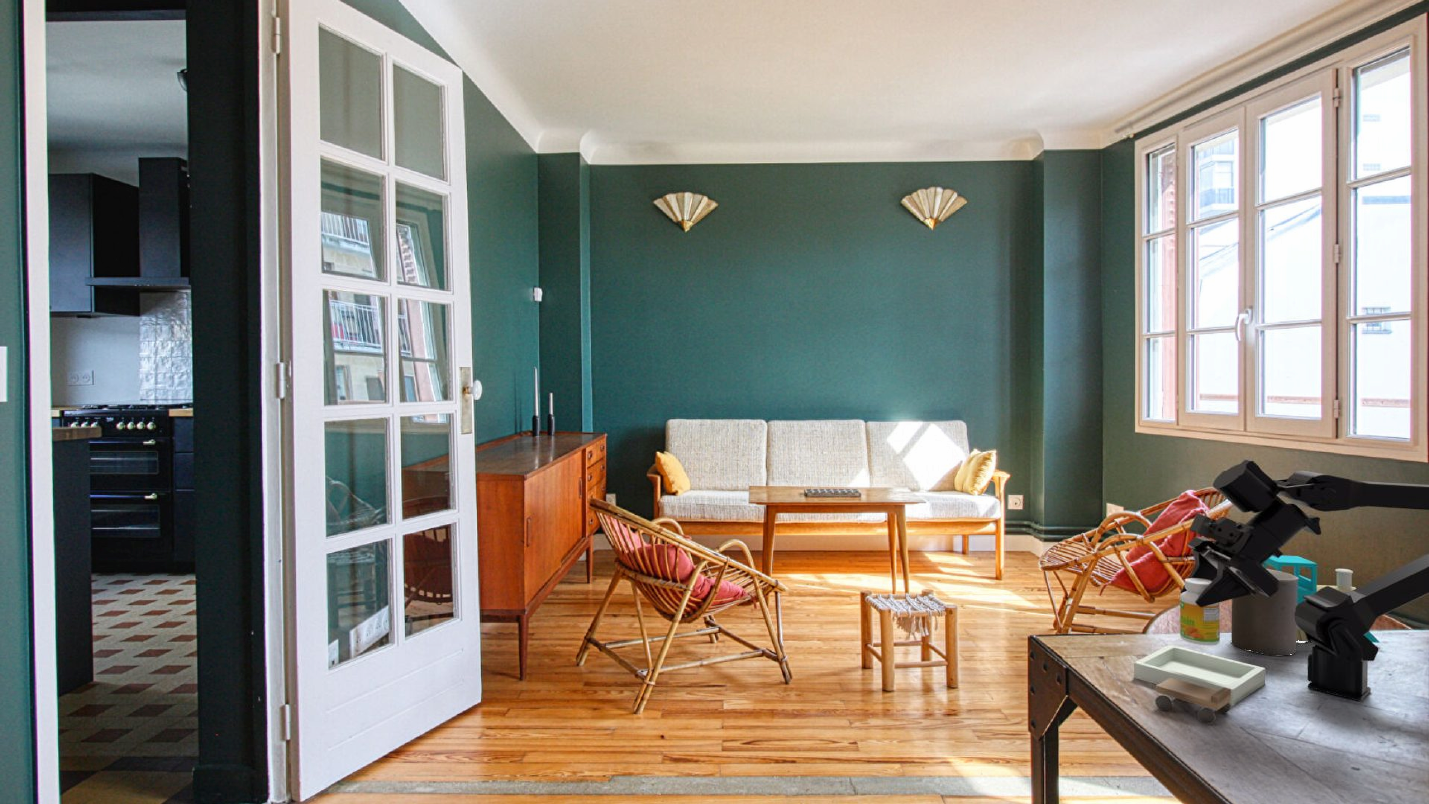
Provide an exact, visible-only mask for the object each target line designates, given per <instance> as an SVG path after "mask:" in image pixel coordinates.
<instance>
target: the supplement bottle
mask: <svg viewBox="0 0 1429 804" xmlns="http://www.w3.org/2000/svg"><path fill="white" fill-rule="evenodd" d="M1211 582H1212V581H1210V580H1206V579H1200V578H1185V579H1184V585H1185V589H1187V591H1186V592H1183V593H1182V594H1181V593H1180V595H1179V609H1180V610H1179V615H1180V617H1179V621H1180V623H1179V625H1180V626H1179V627H1180V629H1179V631H1180V632H1179V633H1180V638H1181V640H1182V641H1185V642H1187V643H1190V644H1194V645H1199V646H1207V647H1208V646H1216V645H1218V644H1219V643H1220V641H1221V637H1220V636H1221V626H1220V624H1221V623H1220V622H1221V620H1220V619H1221V618H1220V615H1221V614H1220V602H1219V603H1215V604H1212V605H1208V606H1205V607H1199V606H1198V605H1197V604H1196V603H1195V601H1196V600H1197V599H1198V597H1199V596H1200V595H1201V594H1202V592H1203V591H1204V590H1205V589H1206V588H1207V587H1208V586H1209V584H1210V583H1211Z"/></svg>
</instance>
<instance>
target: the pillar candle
mask: <svg viewBox="0 0 1429 804" xmlns="http://www.w3.org/2000/svg"><path fill="white" fill-rule="evenodd" d="M1263 567H1264V566H1263ZM1266 569H1267V570H1268V571H1269V572H1270V573H1271V574H1272V575H1273V576H1274V577H1276V578H1277V579H1278V580H1279V590H1278V591H1277V592H1276V593H1274V594H1273V595H1272V596H1271V597H1270V598H1269V597H1267V596H1265V595H1263V594H1261V593H1260V592H1259V591H1258V587H1255V588H1254V589H1253V590H1254V591H1255V592H1256V593H1257V594H1256V595H1247V596H1243V597H1239V598H1234V599H1231V635H1230V636H1231V640H1230V642H1231V641H1232V643H1233V644H1235V645H1236V647H1238V648H1239V647H1240V649H1241V648H1242V649H1241V650H1244V651H1246V650H1251V651H1253V652H1252V653H1254V652H1258V653H1257V654H1259V653H1263V654H1262V655H1264V654H1268V655H1267V656H1272V655H1290V654H1294V653H1295V652H1296V653H1297V643H1296V630H1297V624H1296V622H1295V617H1294V614H1295V611H1296V606H1297V585H1298V579H1299V578H1298V577H1296V576H1294V575H1293V574H1292V573H1289V572H1284V571H1282V572H1281V571H1276V569H1272V568H1271V569H1270V568H1266ZM1232 643H1231V644H1232ZM1233 644H1232V645H1233ZM1235 645H1234V646H1235ZM1245 649H1246V650H1245ZM1296 653H1295V654H1296ZM1295 654H1294V655H1295Z"/></svg>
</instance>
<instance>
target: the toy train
mask: <svg viewBox="0 0 1429 804" xmlns="http://www.w3.org/2000/svg"><path fill="white" fill-rule="evenodd" d="M1267 565H1269V566H1271V567H1273V568H1275V570H1276V571H1281V572H1283V571H1282V570H1283V569H1282V568H1283V567H1284V566H1285V567H1294V568H1293V569H1294V570H1293V572H1294V573H1293V574H1294V576H1296V577H1298V578H1299V579H1298V585H1297V605H1298V604H1299V603H1301V602H1302V601H1304V600H1306V599H1304V598H1303V596H1308V595H1312V594H1314V593H1316V592H1317V591H1319V590H1320V589H1322V588H1324V587H1326V586H1328V585H1326V584H1323V585H1320V584H1318V564H1317V563H1316V562H1314V561H1311V560H1309V559H1305V558H1303V557H1300V556H1298V555H1281V556H1280V557H1279V558H1277V557H1274V556H1271V557H1270V558H1269V559H1268V560H1267V561H1266V562H1265V563H1263V564H1262V566H1264V568H1265V569H1267ZM1301 567H1302V568H1303V567H1304V568H1305V569H1308V570H1310V578H1307V577H1305V576H1303V575H1301V574H1300V573H1301V572H1300V571H1301V570H1300V569H1301ZM1334 571H1335V572H1336V585H1329V586H1330V587H1332V588H1334V589H1337V590H1339V591H1341V592H1348V591H1352V590H1354V589H1356V588H1357V587H1354V586H1352V583H1353V582H1352V581H1353V580H1352V577H1353V575H1352V574H1354V571H1353V570H1351V569H1348V568H1336V569H1335V570H1334ZM1364 636H1366V637H1367V638H1368V639H1369V640H1370V641H1371V642H1372V643H1376V644H1377V643H1378V644H1380V643H1381V642H1380V641H1379V640H1378V638H1376V637H1375V635H1373V633H1371V631H1369V632H1368V633H1366V634H1365V635H1364ZM1298 640H1299V641H1308V640H1307V638H1306V635H1305V633H1304V631H1303V630H1301V629H1300V628H1299V627H1298V626H1297V630H1296V641H1298Z"/></svg>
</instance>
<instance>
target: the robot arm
mask: <svg viewBox="0 0 1429 804" xmlns="http://www.w3.org/2000/svg"><path fill="white" fill-rule="evenodd" d="M1212 487H1213V488H1214V489H1215V490H1216V491H1217V492H1218V493H1220V494H1221V495H1222V496H1223V497H1224V498H1225V499H1226V500H1227V501H1229V503H1231V504H1232V505H1233V506H1234V507H1235V508H1237V510H1239V511H1240V512H1241V513H1243V514H1244V513H1250V512H1251V513H1252V514H1254V515H1253V516H1252V517H1250V519H1248V520H1247V521H1246V522H1245V523H1242V522H1237V521H1235V520H1232V519H1230V518H1227V517H1225V516H1221V517H1219V518H1218V519H1214V518H1212V517H1209V516H1207V515H1204V514H1201V513H1199V512H1197V513H1196V515H1195V516H1194V518H1193V521H1192V523H1191V525H1190V526H1189V529H1188V531H1191V532H1192V533H1196V534H1198V535H1199V536H1195V537H1194V538H1192V539H1191V540H1190V541H1189V542H1188V543H1187V546H1188V547H1189V548H1190V549H1191V550H1192V552H1191V553H1192V555H1193V557H1194V566H1193V568H1192V570H1191V572H1190V574H1189V576H1188V578H1200V579H1206V580H1210V581H1212V582H1211V583H1210V584H1209V586H1208V587H1207V588H1206V589H1205V590H1204V591H1203V592H1202V594H1201V595H1200V596H1199V597H1198V599H1197V600H1196V601H1195V603H1196V604H1197V605H1198V606H1199V607H1205V606H1208V605H1212V604H1215V603H1219V604H1220V603H1221V602H1222V603H1223V602H1225V601H1229V600H1232V599H1234V598H1239V597H1243V596H1247V595H1256V594H1257V593H1256V592H1255V591H1254V590H1253V589H1254V588H1255V587H1258V591H1259V592H1260V593H1261V594H1263V595H1265V596H1267V597H1269V598H1270V597H1271V596H1272V595H1273V594H1274V593H1276V592H1277V591H1278V590H1279V580H1278V579H1277V578H1276V577H1274V576H1273V575H1272V574H1271V573H1270V572H1269V571H1268V570H1267V569H1268V568H1266V569H1265V568H1264V567H1263V566H1262V564H1263V563H1265V562H1266V561H1267V560H1268V559H1269V558H1270V557H1271V556H1274V557H1277V558H1279V557H1280V556H1284V552H1282V551H1281V549H1282V548H1283V547H1284V546H1285V545H1286V544H1288V543H1289V542H1290V541H1291V540H1292V539H1293V538H1294V537H1295V536H1297V535H1298V534H1299V533H1300V532H1302V531H1305V532H1306V533H1310V534H1313V535H1317V536H1321V535H1322V528H1321V525H1320V521H1321V518H1320V517H1319V516H1316V515H1312V514H1310V515H1309V514H1307V513H1306V512H1305V511H1304V510H1302V509H1301V508H1300V507H1303V508H1306V509H1307V508H1308V509H1311V510H1315V511H1318V512H1324V513H1325V512H1337V511H1348V510H1354V509H1357V508H1362V507H1363V508H1365V507H1366V508H1367V507H1371V508H1373V507H1374V508H1375V507H1376V508H1389V509H1390V508H1393V509H1405V510H1407V509H1409V510H1421V511H1422V510H1423V511H1424V510H1425V511H1429V484H1422V483H1421V484H1419V483H1418V484H1417V483H1401V482H1398V483H1397V482H1382V481H1381V482H1380V481H1365V480H1364V481H1363V480H1354V479H1349V478H1346V477H1345V478H1344V477H1340V476H1336V475H1332V474H1326V473H1320V472H1313V471H1309V470H1298V471H1295V472H1294V473H1293V474H1291V475H1290V476H1289V477H1288V478H1278V479H1272V478H1271V477H1270V476H1269V475H1268V474H1266V472H1264V471H1263V470H1262V469H1261V467H1260V466H1259V465H1258V464H1257V463H1256V462H1255V461H1254V460H1250V459H1244V460H1243V461H1241V462H1240V463H1239V464H1236V465H1234V466H1231V467H1230V468H1228V469H1227V470H1223V471H1222V472H1221V473H1219V475H1217V476H1216V478H1215V479H1214V480H1213V482H1212ZM1279 496H1280V497H1284V498H1287V499H1288V500H1289V501H1290V502H1291V503H1286V502H1285V501H1284V500H1283V499H1282V498H1280V497H1279ZM1299 506H1300V507H1299ZM1211 539H1213V540H1211ZM1188 578H1187V579H1188ZM1330 586H1331V585H1327V586H1326V587H1324V588H1322V589H1320V590H1319V591H1317V592H1316V593H1314V594H1312V595H1308V596H1303V598H1304V599H1306V600H1304V601H1302V602H1301V603H1299V604H1298V605H1297V606H1296V611H1295V614H1294V617H1295V622H1296V624H1297V626H1298V627H1299V628H1300V629H1301V630H1303V631H1304V633H1305V635H1306V638H1307V640H1308V641H1309V642H1308V643H1313V644H1314V645H1313V646H1312V647H1311V653H1310V654H1308V655H1307V678H1306V679H1307V681H1308V682H1309V683H1307V684H1308V685H1307V687H1308V689H1312V690H1316V691H1318V692H1319V691H1320V692H1323V693H1328V694H1332V695H1335V696H1340V697H1343V698H1347V699H1350V700H1354V701H1355V700H1356V701H1362V700H1363V699H1364V698H1365V697H1366V696H1367V695H1369V694H1370V693H1371V691H1372V689H1371V687H1370V686H1368V677H1369V675H1368V672H1369V671H1368V666H1369V664H1368V663H1369V662H1374V661H1375V659H1376V657H1377V655H1378V652H1379V647H1378V646H1377V645H1375V643H1374V642H1371V641H1370V640H1369V639H1368V638H1367V637H1366V636H1364V635H1365V634H1366V633H1368V632H1370V630H1371V629H1372V627H1373V625H1374V624H1375V622H1376V620H1377V619H1379V618H1380V617H1382V616H1384V615H1385V614H1386V615H1387V614H1388V613H1391V612H1393V611H1394V610H1396V609H1399V608H1401V607H1403V606H1405V605H1407V604H1409V603H1410V604H1411V603H1413V602H1414V601H1416V600H1418V599H1420V598H1422V597H1424V596H1426V595H1428V594H1429V553H1427V554H1425V555H1424V556H1420V557H1419V558H1417V559H1415V560H1413V561H1411V562H1409V563H1406V564H1404V565H1401V566H1400V567H1398V568H1396V569H1394V570H1392V571H1389V572H1387V573H1386V574H1384V575H1382V576H1379V577H1377V578H1375V579H1373V580H1371V581H1369V582H1367V583H1365V584H1363V585H1361V586H1359V587H1358V586H1357V587H1355V588H1356V589H1354V590H1352V591H1348V592H1341V591H1339V590H1337V589H1334V588H1332V587H1330ZM1186 591H1187V589H1185V584H1183V587H1182V588H1181V590H1180V595H1181V594H1182V593H1183V592H1186Z"/></svg>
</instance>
